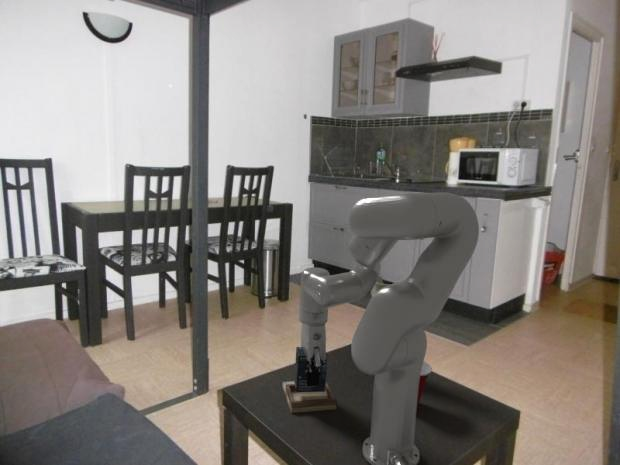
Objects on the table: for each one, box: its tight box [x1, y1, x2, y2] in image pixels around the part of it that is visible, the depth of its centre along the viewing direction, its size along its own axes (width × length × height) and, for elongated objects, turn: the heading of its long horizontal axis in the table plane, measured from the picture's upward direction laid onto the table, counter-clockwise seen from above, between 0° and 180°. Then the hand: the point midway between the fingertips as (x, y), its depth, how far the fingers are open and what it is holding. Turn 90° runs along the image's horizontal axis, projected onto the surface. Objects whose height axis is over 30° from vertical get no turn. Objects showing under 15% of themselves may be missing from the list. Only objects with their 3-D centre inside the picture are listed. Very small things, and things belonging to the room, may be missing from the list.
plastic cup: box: [417, 360, 433, 408], centre depth 121 cm, size 11×11×12 cm
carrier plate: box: [281, 380, 337, 414], centre depth 124 cm, size 14×12×4 cm
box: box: [293, 346, 328, 392], centre depth 121 cm, size 8×6×11 cm
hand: (310, 378), depth 121 cm, fingers closed on box, 5 cm apart
